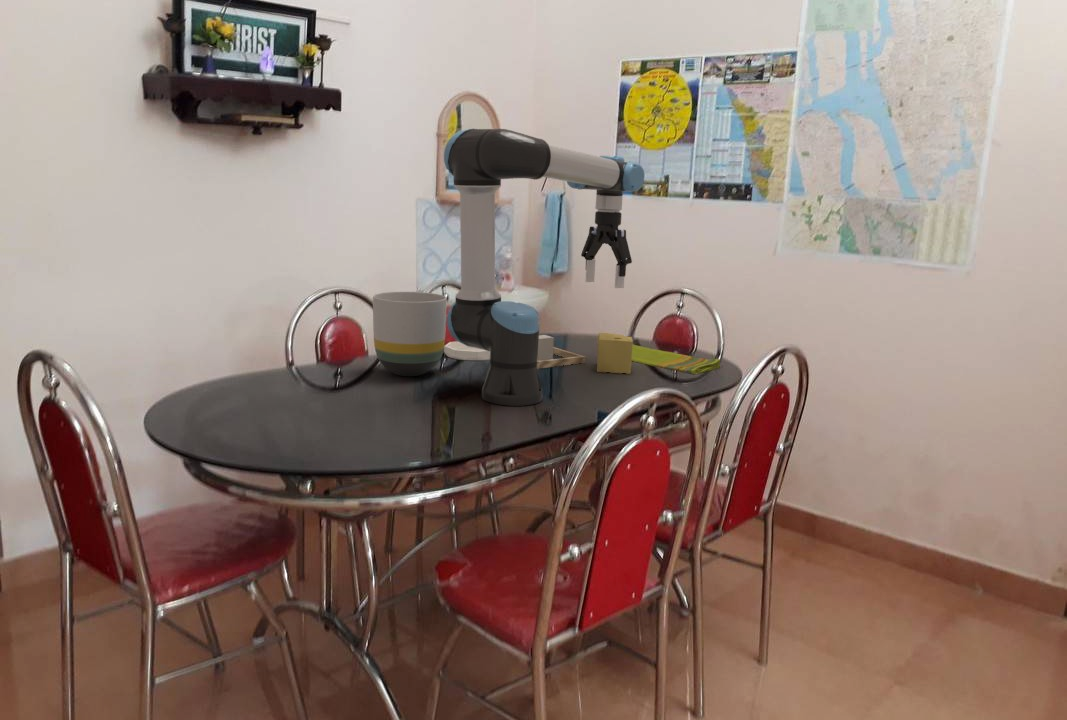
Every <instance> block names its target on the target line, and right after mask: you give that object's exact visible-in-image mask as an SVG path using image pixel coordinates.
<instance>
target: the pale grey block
mask: <svg viewBox="0 0 1067 720" xmlns="http://www.w3.org/2000/svg"><path fill="white" fill-rule="evenodd" d="M554 344H555V338H554V337H553V336H550V335H547V334H542V335H541V334H539V339H538V355H537V360H542V361H543V360H551V359H554V354H553V347H554Z"/></svg>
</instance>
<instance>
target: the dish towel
mask: <svg viewBox="0 0 1067 720" xmlns="http://www.w3.org/2000/svg"><path fill="white" fill-rule="evenodd" d="M632 361H634V363H637V362H638V363H637V364H642V365H643V364H644V365H647V366H651V367H657V368H663V369H667V370H672V371H676V372H682V373H685V374H686V373H687V374H692V375H697V374H702V373H706V372H710V371H713V370H716V369H720V368H721V364H720V362H721V359H720V358H711V359H706V358H702V357H701V358H700V357H697V356H690V355H686V354H681V353H676V352H671V351H666V350H665V351H664V350H660V349H659V350H658V349H653V348H649V347H645V346H641V345H636V344H633V348H632ZM632 361H631V362H632Z"/></svg>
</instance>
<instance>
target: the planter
mask: <svg viewBox="0 0 1067 720" xmlns="http://www.w3.org/2000/svg"><path fill="white" fill-rule="evenodd" d="M447 298H448V297H446V296H445V295H443V294H439V293H433V292H425V291H388V292H380V293H375V294H374V295H373V297H372V327H373V344H374V350H375V351H374V352H375V354H376V357H377V360H378V361H379V363H380V364H381V365H382V366H383V367H384V369H386V370H387V371H389V372H391V373H392V374H395V375H398V376H402V377H415V376H416V377H418V376H422V375H425V374H426V373H429V372H430V371H431V370H433V368H435V367H436V366H437V365H438V364H439V362H440V361H441V358H442V356H443V353H444V346H445V345H446V344H445V343H446V342H445V341H446V329H447V328H446V327H447V306H448V304H447V302H448V301H447Z"/></svg>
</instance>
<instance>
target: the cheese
mask: <svg viewBox="0 0 1067 720" xmlns="http://www.w3.org/2000/svg"><path fill="white" fill-rule="evenodd" d="M596 344H597V345H596V347H597V349H596V350H597V361H596V362H597V365H596V366H597V367H596V371H597V373H606V372H610V373H609V374H622V373H626V374H625V375H631V372H632V348H633V345H634V340H633V336H625V335H623V334H617V333H611V332H610V333H609V332H598V335H597V343H596Z"/></svg>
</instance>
